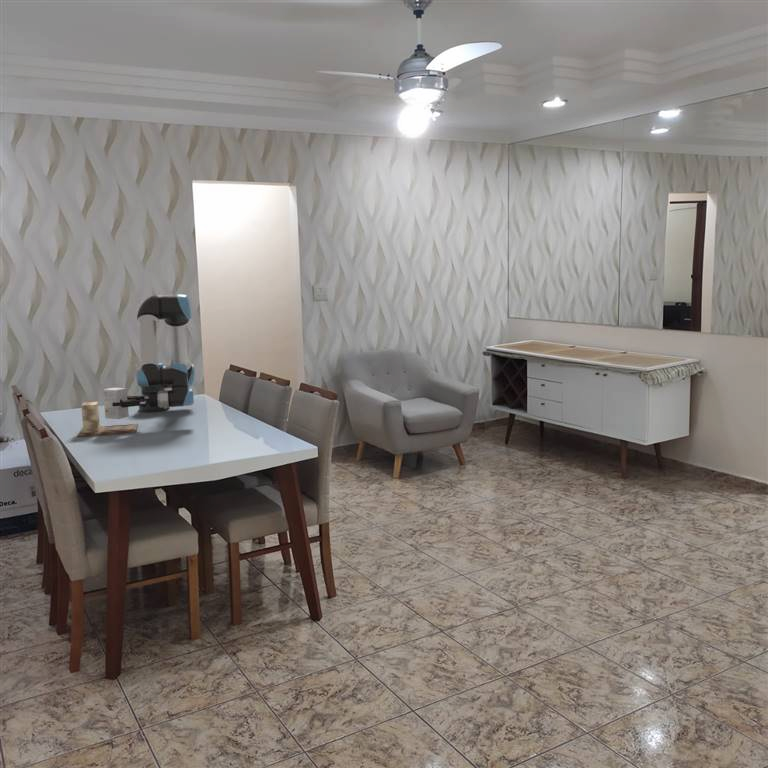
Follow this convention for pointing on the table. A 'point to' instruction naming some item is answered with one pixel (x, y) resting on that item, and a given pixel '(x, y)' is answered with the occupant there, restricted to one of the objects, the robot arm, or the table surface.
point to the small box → (115, 395)
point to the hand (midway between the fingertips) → (105, 402)
